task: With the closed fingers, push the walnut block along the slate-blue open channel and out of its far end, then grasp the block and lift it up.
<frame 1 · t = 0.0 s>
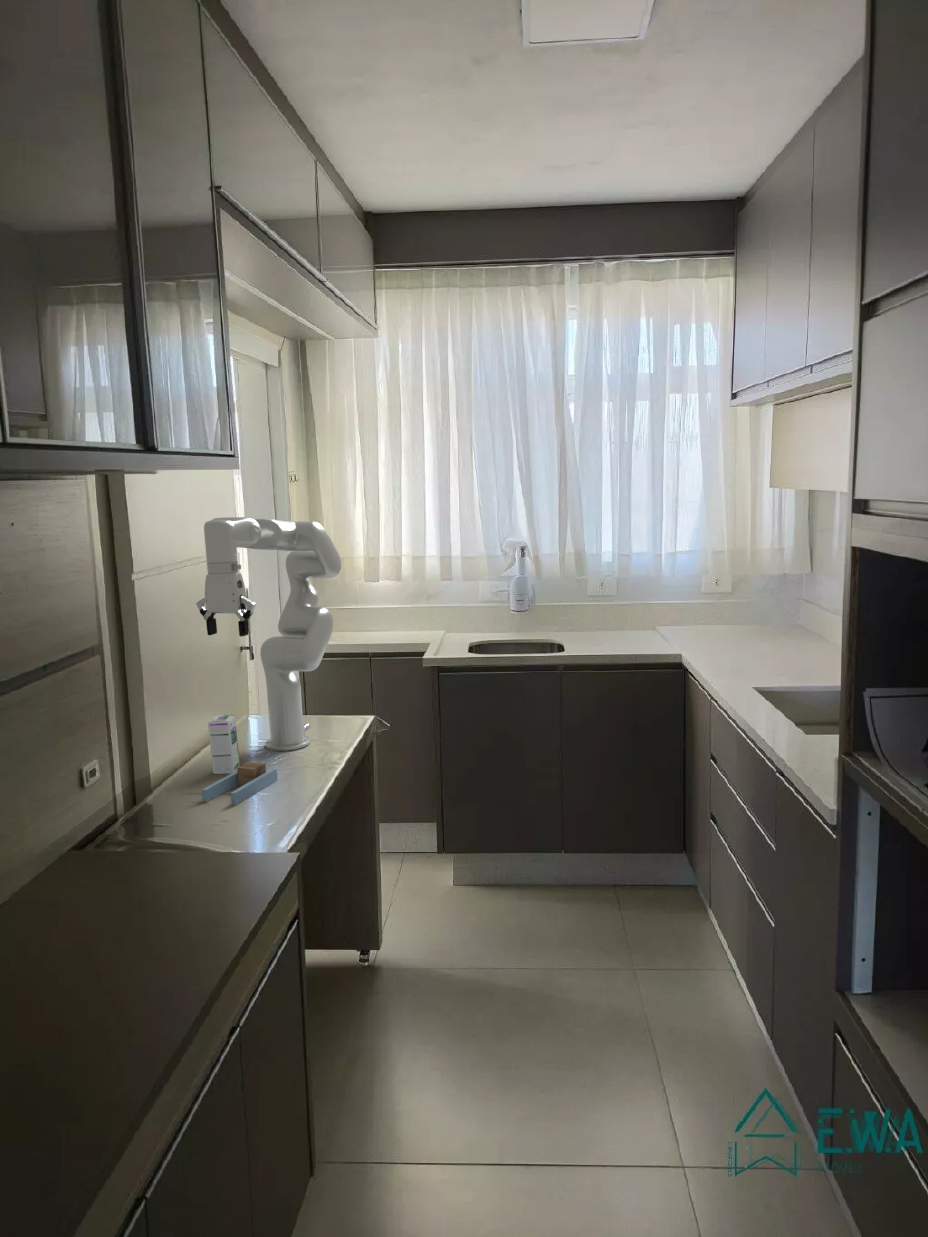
hand: (228, 634, 231), 37 cm above the counter, tool pointing down, fingers open, 9 cm apart
walnut block: (252, 784, 227), on the counter
channel: (241, 790, 222), on the counter
syrup box: (226, 771, 238), on the counter
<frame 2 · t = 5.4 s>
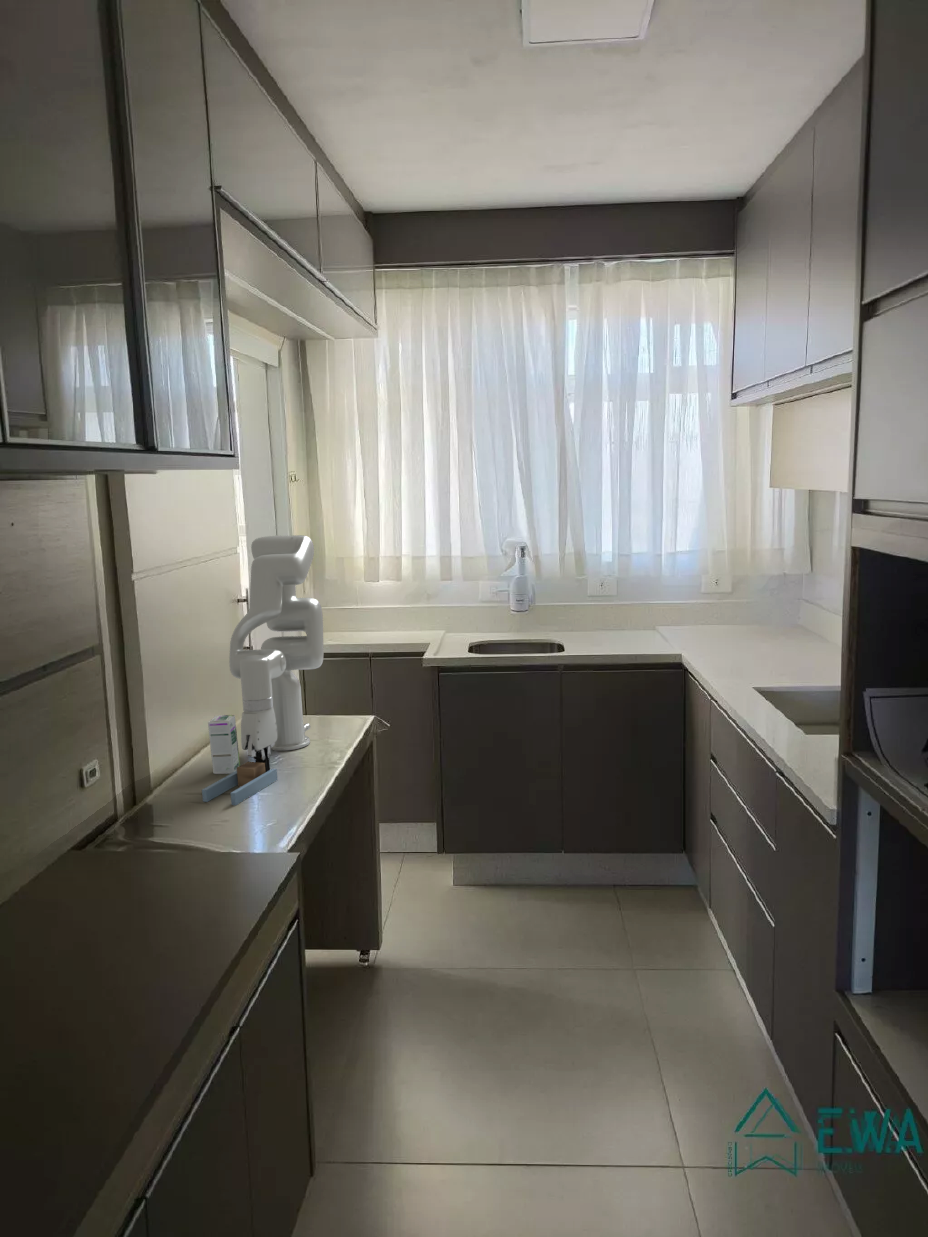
hand: (263, 773, 231), 1 cm above the counter, tool pointing down, fingers closed
walnut block: (252, 784, 227), on the counter, touching gripper
everything else where it was.
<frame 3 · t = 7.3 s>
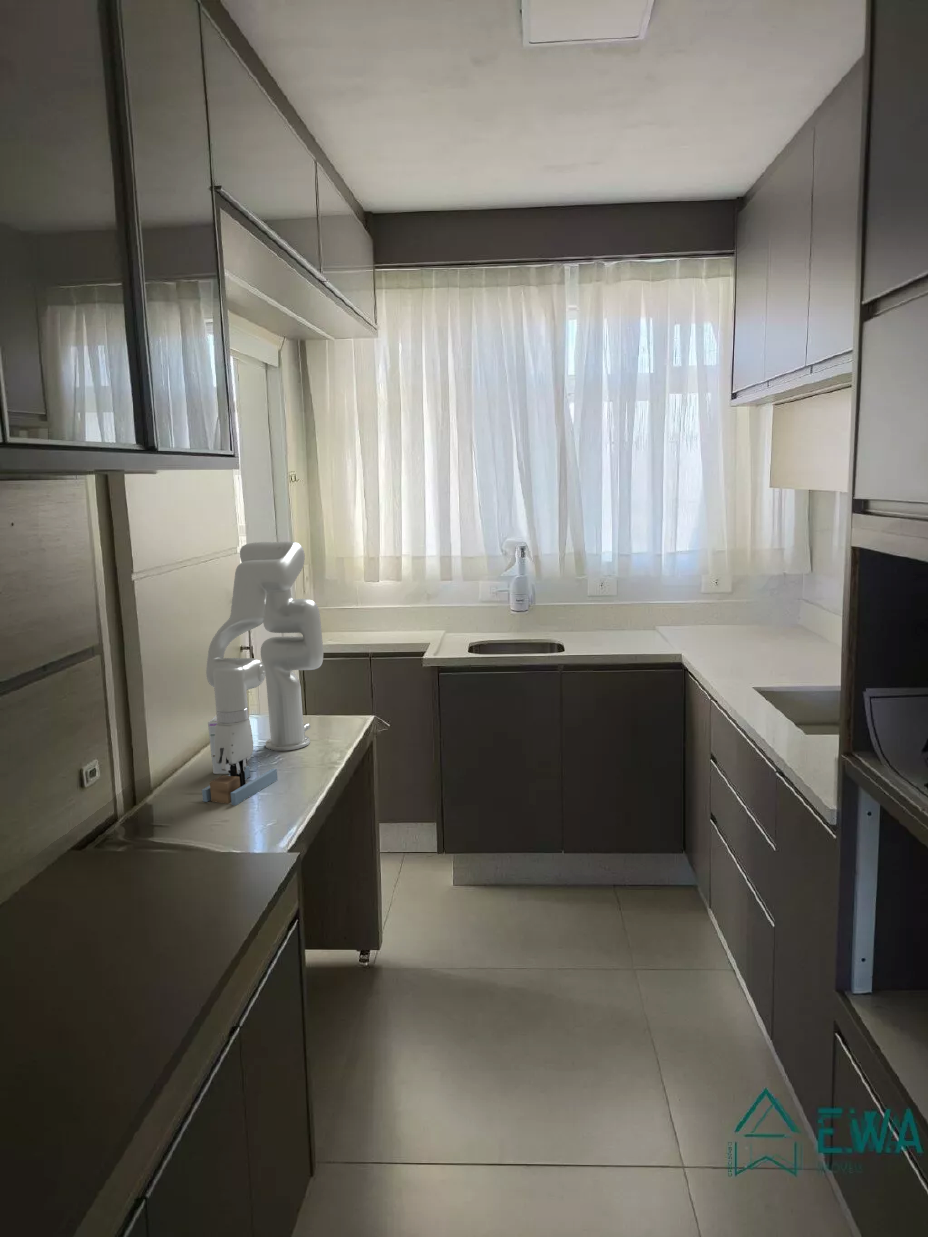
hand: (238, 787, 221), 1 cm above the counter, tool pointing down, fingers closed
walnut block: (226, 799, 217), on the counter, touching gripper
everything else where it was.
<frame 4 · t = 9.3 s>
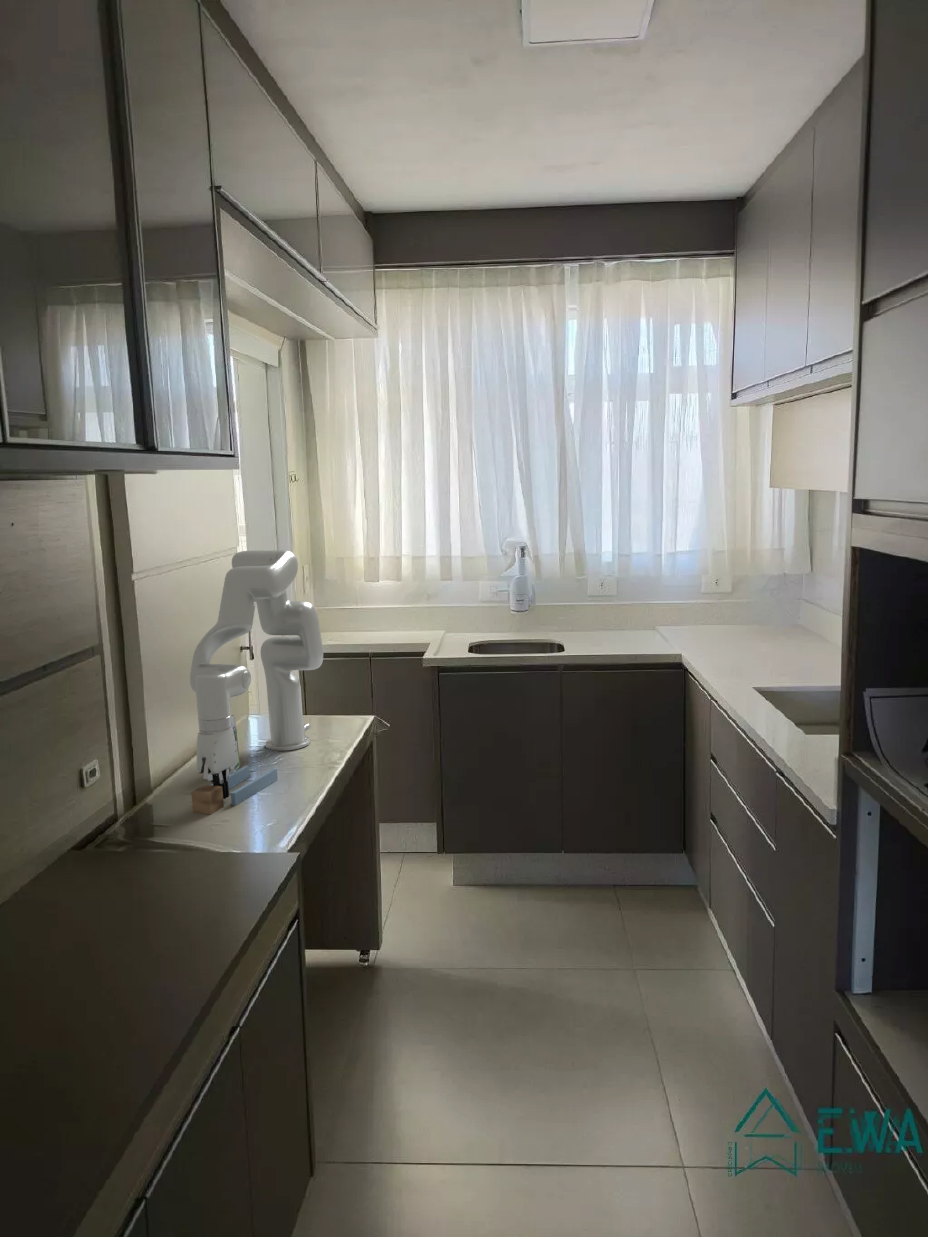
hand: (221, 797, 215), 1 cm above the counter, tool pointing down, fingers closed
walnut block: (208, 809, 211), on the counter, touching gripper
everything else where it was.
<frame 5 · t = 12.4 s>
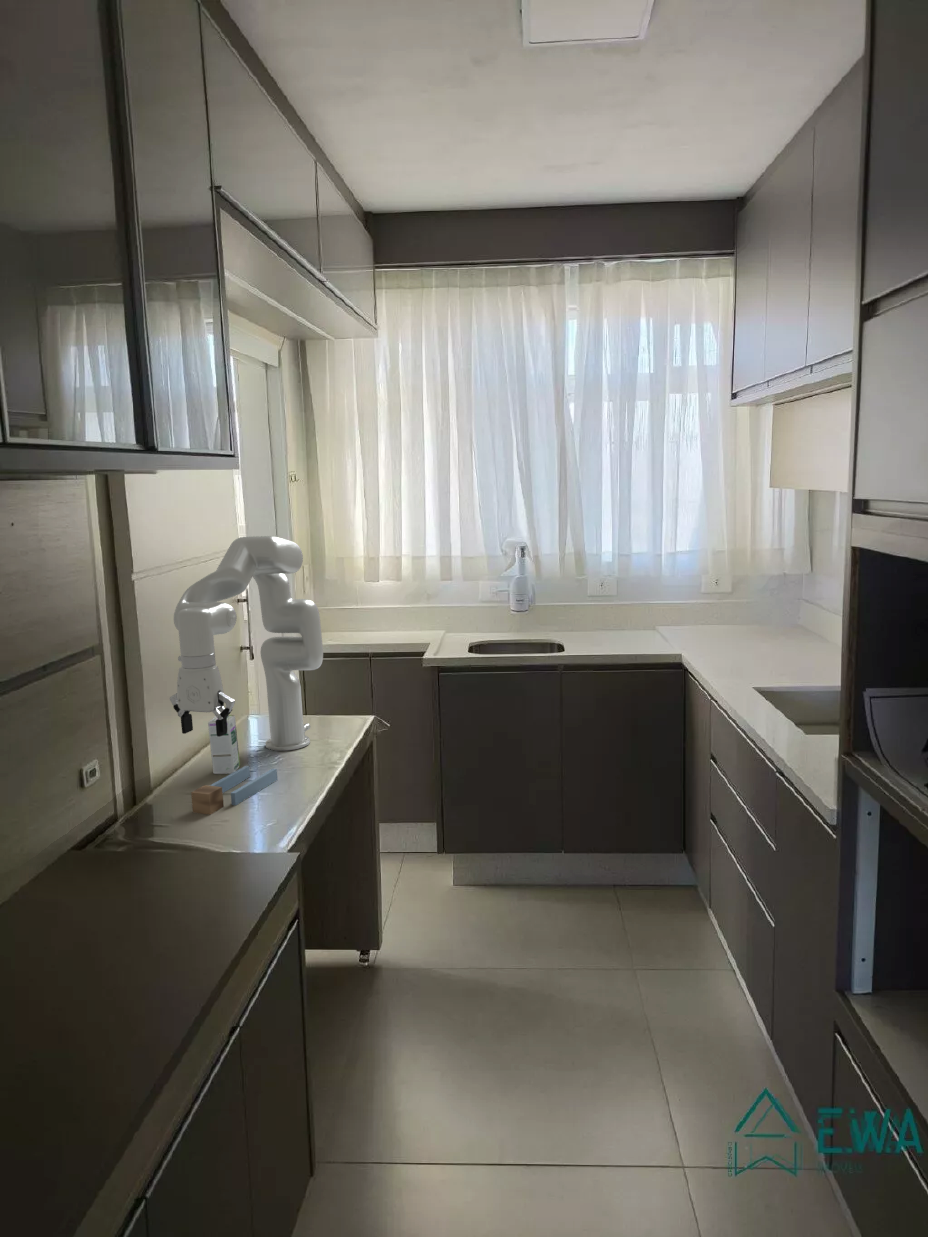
hand: (204, 733, 208), 18 cm above the counter, tool pointing down, fingers open, 9 cm apart
walnut block: (208, 810, 211), on the counter
everything else where it was.
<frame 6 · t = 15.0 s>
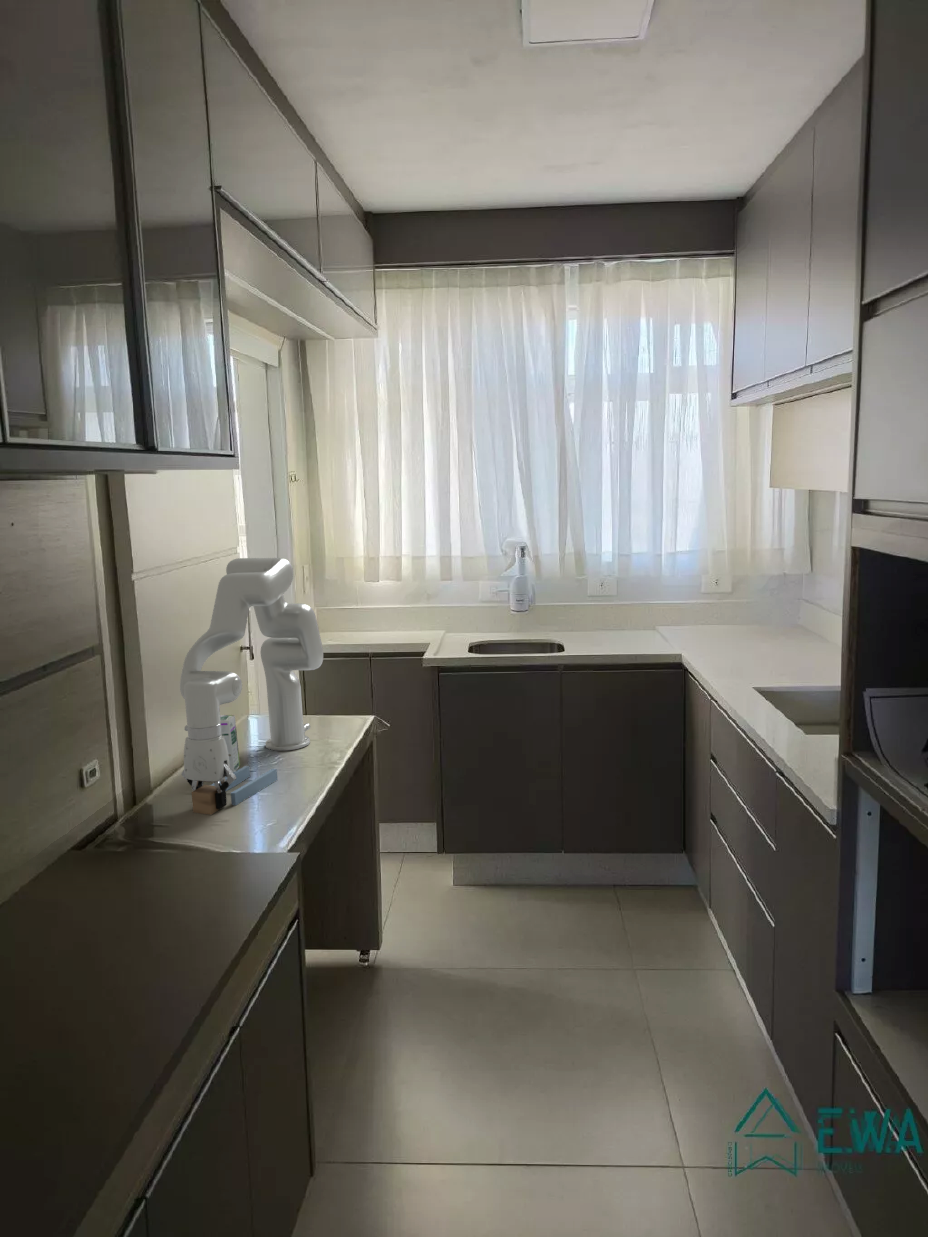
hand: (211, 805, 211), 1 cm above the counter, tool pointing down, fingers closed on walnut block, 5 cm apart
walnut block: (208, 809, 210), on the counter, touching gripper
everything else where it was.
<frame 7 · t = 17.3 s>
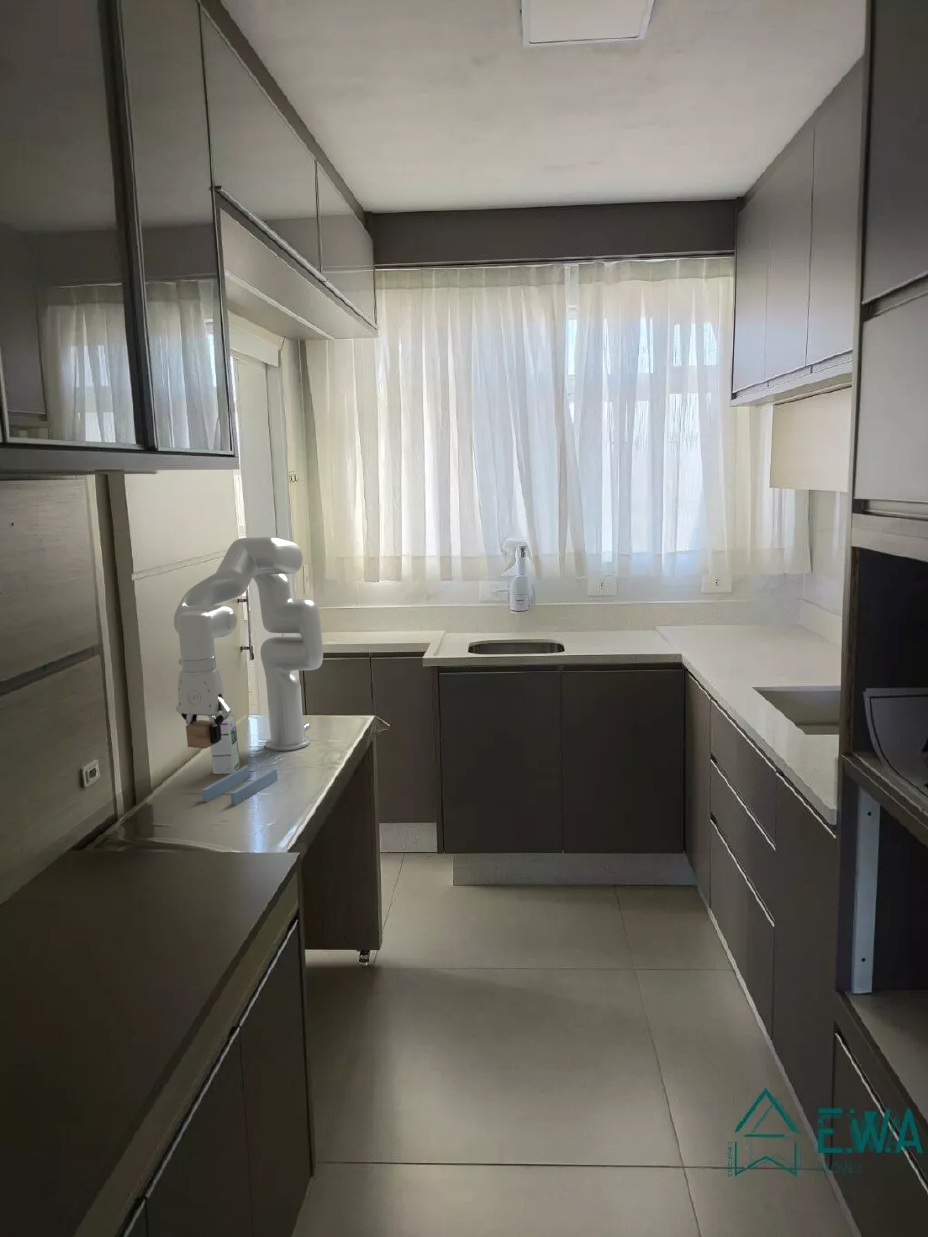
hand: (205, 740, 209), 17 cm above the counter, tool pointing down, fingers closed on walnut block, 5 cm apart
walnut block: (203, 744, 208), point 16 cm above the counter, touching gripper
everything else where it was.
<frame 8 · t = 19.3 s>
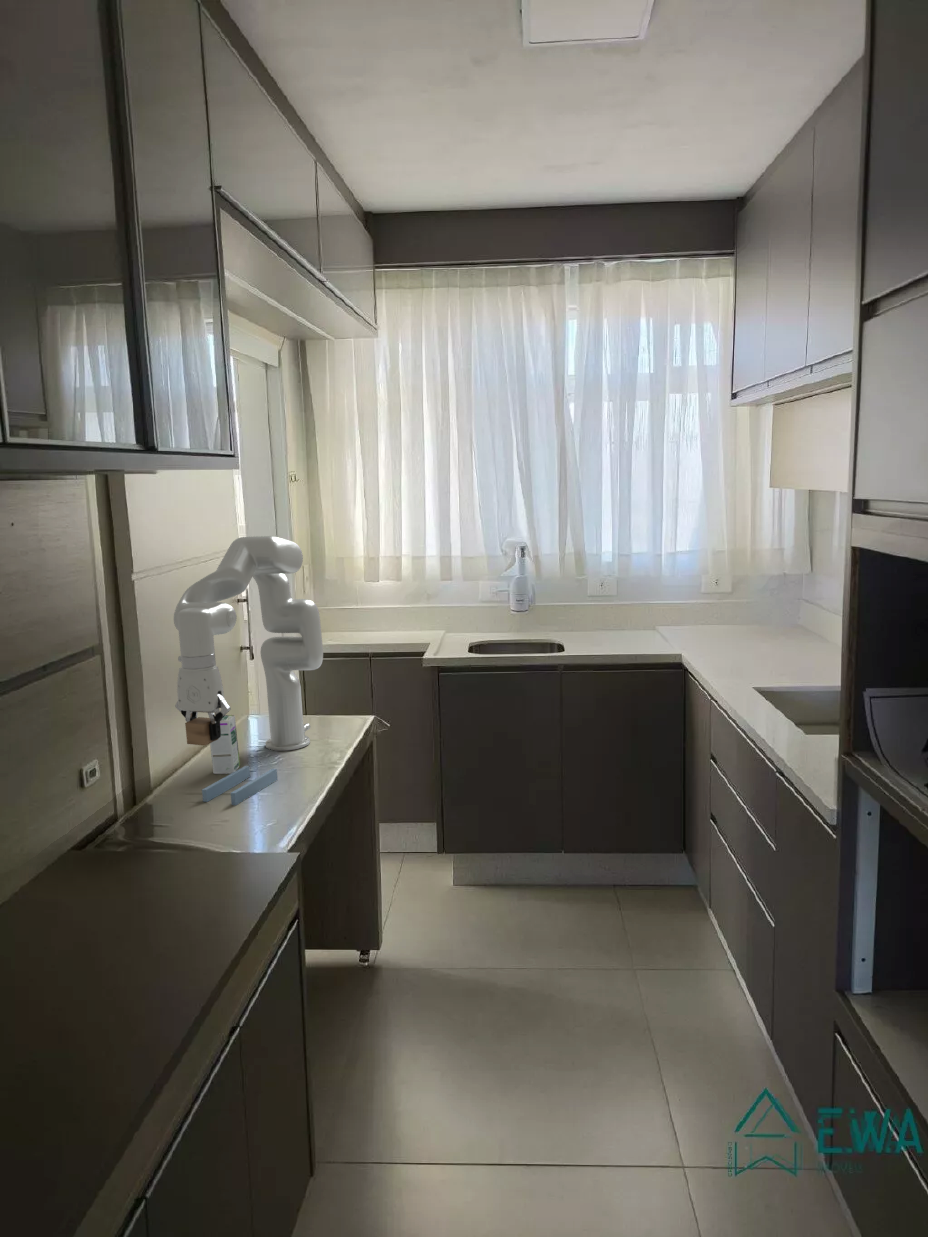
hand: (205, 737, 209), 17 cm above the counter, tool pointing down, fingers closed on walnut block, 5 cm apart
walnut block: (202, 741, 208), point 17 cm above the counter, touching gripper
everything else where it was.
at the end: the gripper is holding walnut block; walnut block inside the target area (0.1 cm from its centre), point 16.6 cm above the counter; walnut block touching gripper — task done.
